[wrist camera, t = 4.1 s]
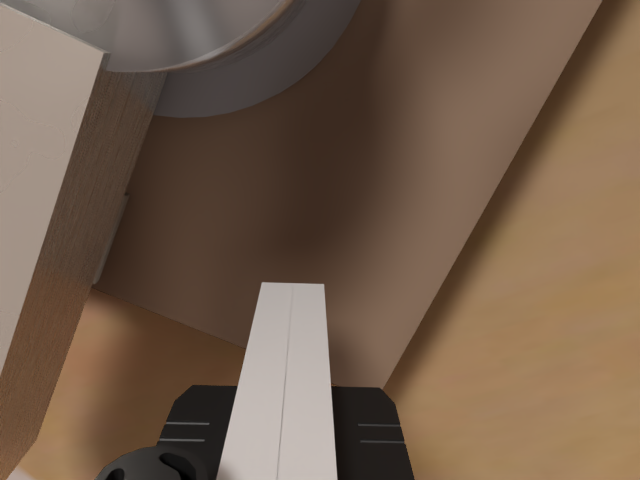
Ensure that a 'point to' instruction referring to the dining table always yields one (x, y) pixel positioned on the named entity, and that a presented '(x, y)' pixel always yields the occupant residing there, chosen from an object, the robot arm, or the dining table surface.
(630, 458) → the dining table surface
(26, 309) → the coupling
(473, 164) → the mount
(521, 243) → the dining table surface
